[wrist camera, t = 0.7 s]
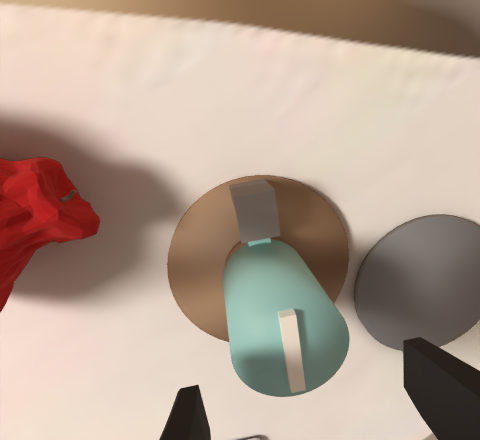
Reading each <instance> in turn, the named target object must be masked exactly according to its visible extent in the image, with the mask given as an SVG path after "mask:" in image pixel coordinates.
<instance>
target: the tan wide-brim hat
mask: <svg viewBox="0 0 480 440" xmlns="http://www.w3.org/2000/svg"><path fill="white" fill-rule="evenodd" d="M266 238H270V239H273V240H278V241H281V242H284V243H286V244H288V245H290V246H291V247H292V248H294V249H295V250H296V251H297V252H298V254H299V255H300V256H301V258H302V259H303V261H304V262H305V264H306V265H307V267H308V268H309V269H310V271H311V272H312V274H313V275H314V277H315V278H316V279H317V281H318V282H319V284H320V285H321V287H322V288H323V289H324V291H325V292H326V294H327V295H328V297H329V298H330V299H331V301H332V302H334V301H335V299H336V298H337V296H338V294H339V293H340V290H341V288H342V286H343V283H344V281H345V277H346V273H347V268H348V261H349V250H348V243H347V237H346V234H345V231H344V228H343V226H342V223H341V221H340V219H339V217H338V216H337V214H336V213H335V211H334V210H333V209H332V207H331V206H330V205H329V204H328V203H327V202H326V201H325V200H324V199H323V198H322V197H320V196H319V195H318V194H317V193H315V192H314V191H312V190H311V189H309V188H307V187H306V186H304V185H302V184H300V183H298V182H295V181H293V180H290V179H286V178H283V177H277V176H270V175H255V176H247V177H242V178H238V179H234V180H231V181H228V182H226V183H223V184H221V185H219V186H217V187H215V188H214V189H212V190H210V191H209V192H207V193H206V194H204V195H203V196H202V197H200V198H199V199H198V200H197V201H196V202H195V203H194V204H193V205H192V206H191V207H190V208H189V209H188V211H187V212H186V213H185V215H184V216H183V217H182V219H181V221H180V222H179V224H178V226H177V228H176V230H175V233H174V235H173V238H172V241H171V245H170V249H169V254H168V263H167V265H168V278H169V284H170V288H171V291H172V293H173V296H174V298H175V300H176V302H177V304H178V306H179V307H180V309H181V310H182V312H183V313H184V314H185V315H186V316H187V318H188V319H189V320H190V321H191V322H192V323H193V324H195V325H196V326H197V327H198V328H200V329H201V330H203V331H204V332H206V333H208V334H209V335H212V336H214V337H216V338H218V339H221V340H224V341H228V342H229V334H228V325H227V316H226V307H225V298H224V290H223V272H224V268H225V266H226V264H227V262H228V260H229V259H230V257H231V256H232V255H233V253H235V252H236V251H237V250H238V249H239V248H241V247H242V246H244V245H245V244H247V243H248V242H251V241H256V240H261V239H266Z"/></svg>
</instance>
